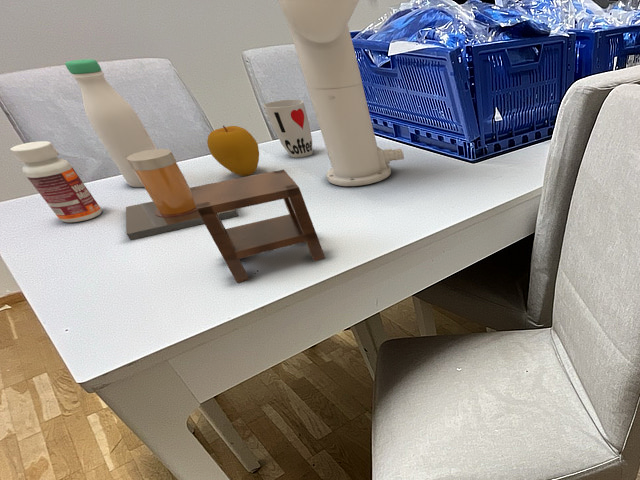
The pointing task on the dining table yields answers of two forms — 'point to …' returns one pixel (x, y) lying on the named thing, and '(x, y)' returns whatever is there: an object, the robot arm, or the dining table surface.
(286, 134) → the cup
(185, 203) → the honey jar
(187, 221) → the hob
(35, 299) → the dining table surface
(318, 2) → the robot arm
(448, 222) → the dining table surface
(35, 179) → the pill bottle
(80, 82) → the milk bottle
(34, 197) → the dining table surface
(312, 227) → the rack
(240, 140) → the apple
